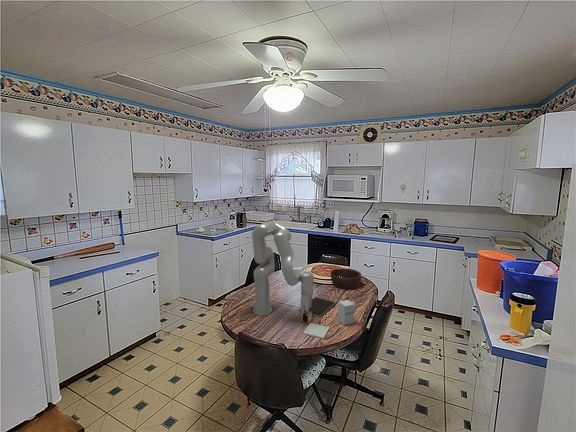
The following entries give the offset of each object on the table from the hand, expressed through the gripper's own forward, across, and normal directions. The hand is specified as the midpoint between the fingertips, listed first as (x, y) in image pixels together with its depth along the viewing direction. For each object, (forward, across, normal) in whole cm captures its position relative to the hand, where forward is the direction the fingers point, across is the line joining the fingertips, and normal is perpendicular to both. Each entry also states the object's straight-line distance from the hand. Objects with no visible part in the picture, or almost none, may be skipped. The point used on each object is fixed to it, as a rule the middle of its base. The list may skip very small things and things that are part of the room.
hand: (306, 319), depth 180 cm
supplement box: (+1, -8, +23) cm, 24 cm away
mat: (+1, +10, +10) cm, 14 cm away
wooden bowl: (+1, -68, +9) cm, 69 cm away
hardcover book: (+2, -19, +1) cm, 19 cm away
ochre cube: (+1, 0, 0) cm, 1 cm away
